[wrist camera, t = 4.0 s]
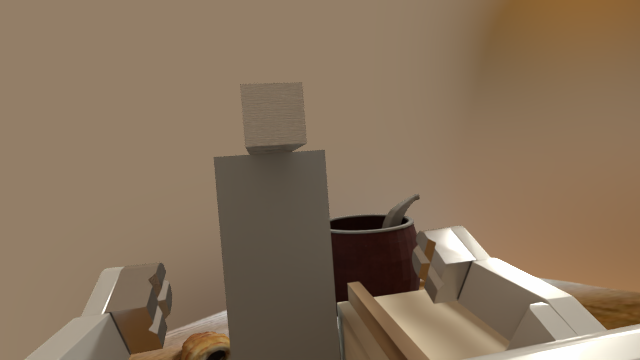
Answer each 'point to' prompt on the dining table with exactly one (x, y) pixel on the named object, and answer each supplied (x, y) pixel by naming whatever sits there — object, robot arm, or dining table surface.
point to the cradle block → (411, 328)
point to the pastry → (206, 347)
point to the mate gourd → (374, 252)
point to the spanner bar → (273, 117)
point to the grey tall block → (277, 256)
